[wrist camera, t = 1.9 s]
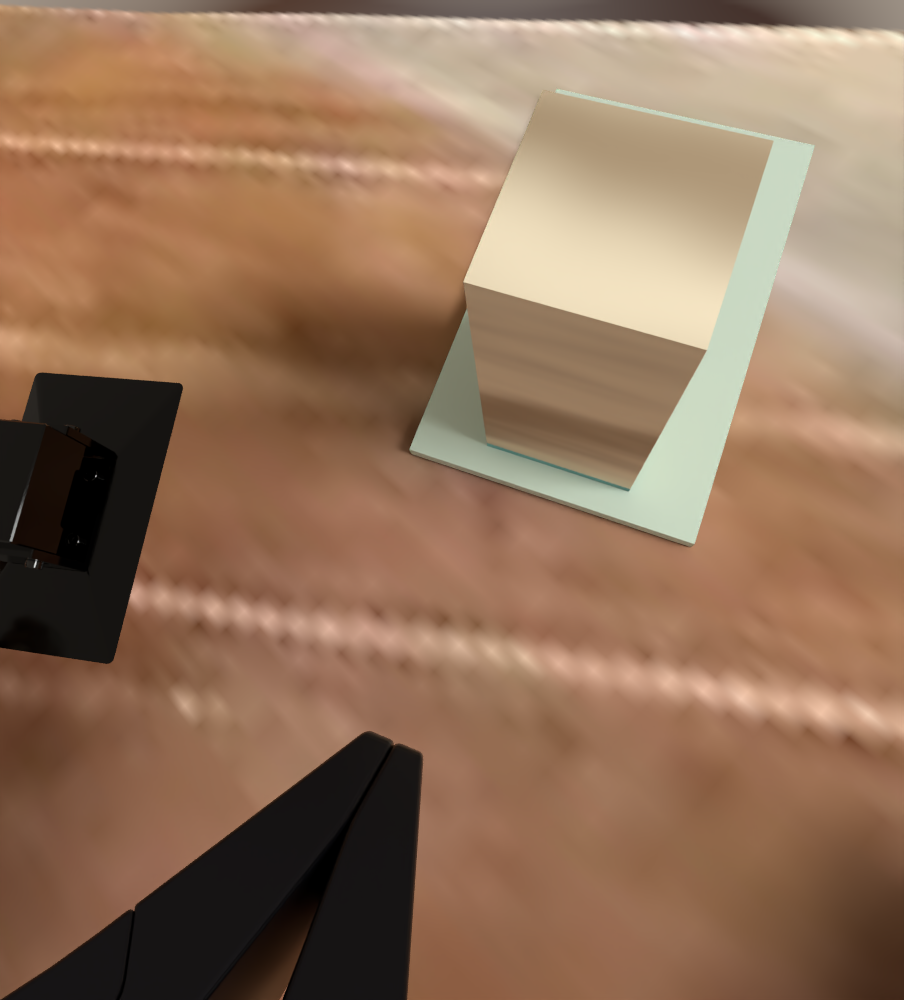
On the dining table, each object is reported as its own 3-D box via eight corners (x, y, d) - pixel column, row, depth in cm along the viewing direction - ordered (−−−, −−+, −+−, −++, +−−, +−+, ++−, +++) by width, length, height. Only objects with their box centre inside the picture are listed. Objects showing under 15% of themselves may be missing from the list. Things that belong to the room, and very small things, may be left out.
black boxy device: (39, 347, 28) (-59, 279, 23) (219, 361, 27) (155, 294, 22) (-63, 680, 25) (-200, 680, 20) (137, 711, 24) (42, 719, 19)
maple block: (628, 491, 23) (707, 350, 13) (487, 445, 24) (463, 282, 14) (671, 360, 24) (773, 140, 14) (534, 321, 25) (542, 90, 15)
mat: (690, 547, 23) (694, 544, 22) (411, 453, 24) (409, 449, 24) (809, 155, 26) (814, 145, 25) (556, 99, 28) (556, 88, 27)
